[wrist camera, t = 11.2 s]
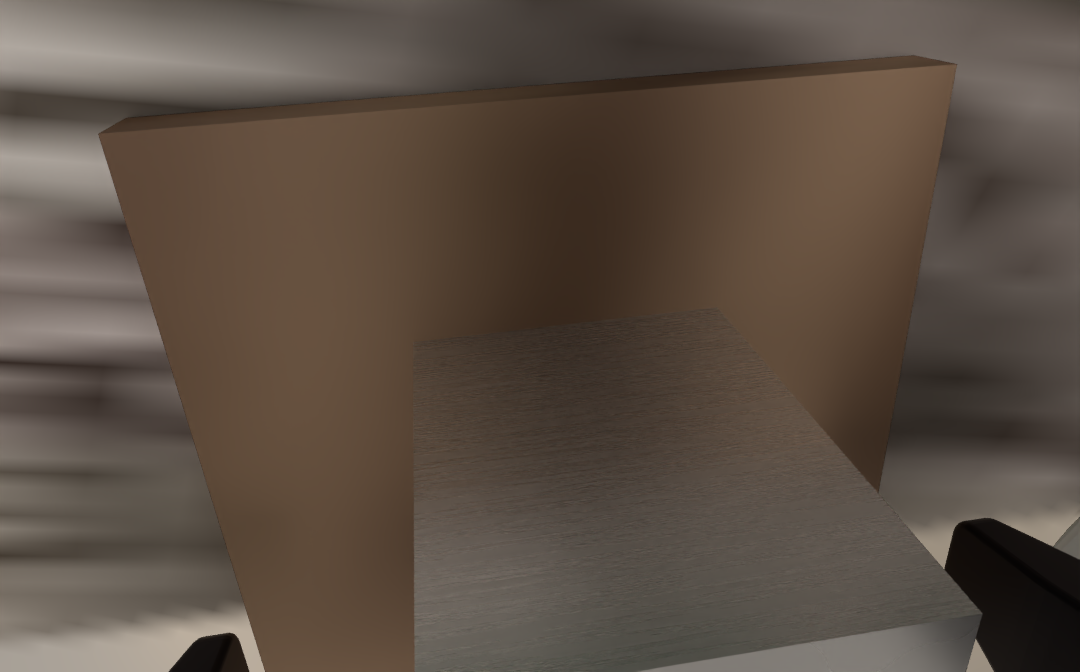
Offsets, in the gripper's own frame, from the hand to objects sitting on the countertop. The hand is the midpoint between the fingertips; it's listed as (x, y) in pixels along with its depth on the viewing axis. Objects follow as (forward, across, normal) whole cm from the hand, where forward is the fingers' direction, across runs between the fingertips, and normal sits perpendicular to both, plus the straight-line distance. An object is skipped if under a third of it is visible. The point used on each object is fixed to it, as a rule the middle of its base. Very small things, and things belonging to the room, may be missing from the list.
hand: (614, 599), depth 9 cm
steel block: (+3, 0, 0) cm, 3 cm away
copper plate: (+4, 0, 0) cm, 4 cm away
